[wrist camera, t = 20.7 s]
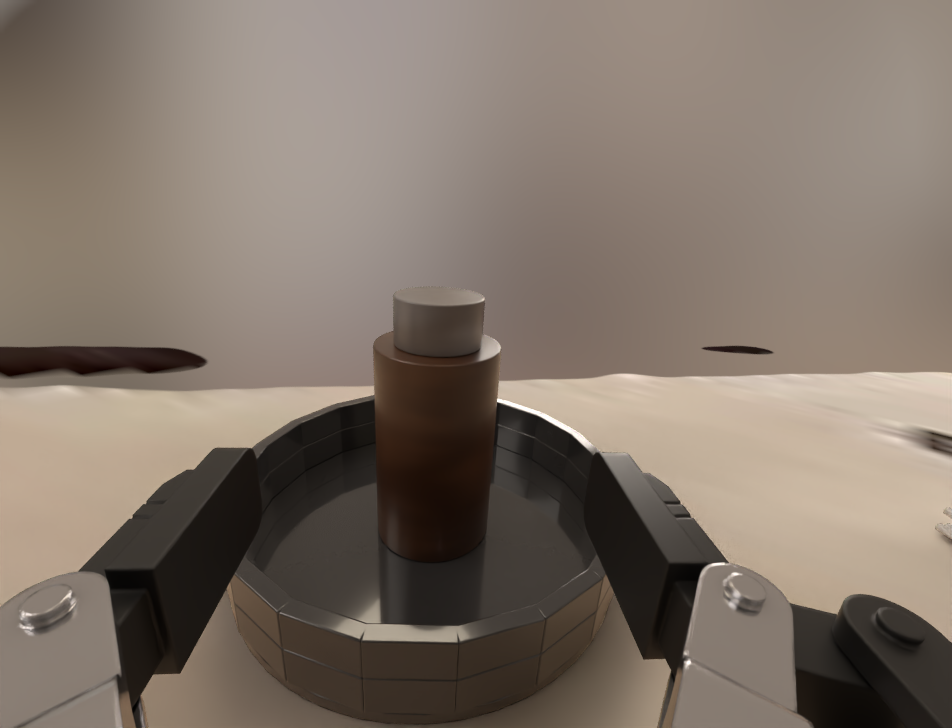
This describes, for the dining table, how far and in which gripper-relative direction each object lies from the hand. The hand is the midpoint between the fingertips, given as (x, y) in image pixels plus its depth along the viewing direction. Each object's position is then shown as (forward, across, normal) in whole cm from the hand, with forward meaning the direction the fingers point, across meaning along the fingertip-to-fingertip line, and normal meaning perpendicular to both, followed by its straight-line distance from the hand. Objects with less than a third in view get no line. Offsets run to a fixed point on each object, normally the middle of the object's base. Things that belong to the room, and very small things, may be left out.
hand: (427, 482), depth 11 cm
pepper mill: (+8, 0, +8) cm, 12 cm away
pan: (+8, 0, +9) cm, 12 cm away
